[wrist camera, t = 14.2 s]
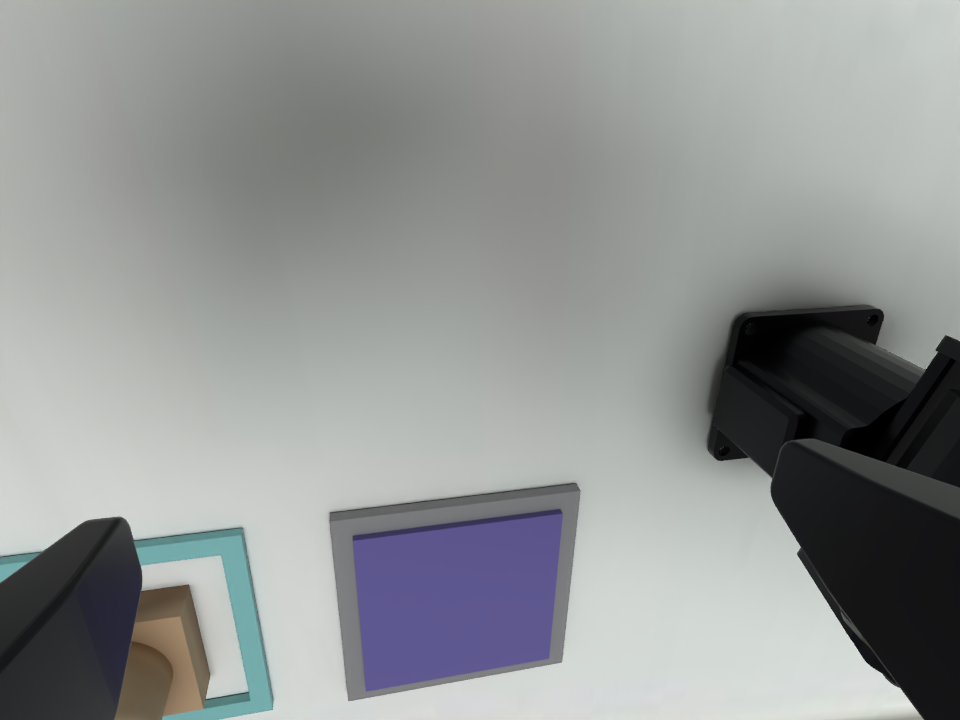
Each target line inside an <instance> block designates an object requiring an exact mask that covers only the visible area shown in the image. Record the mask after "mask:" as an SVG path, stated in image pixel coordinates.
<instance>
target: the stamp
mask: <svg viewBox="0 0 960 720" xmlns="http://www.w3.org/2000/svg"><path fill="white" fill-rule="evenodd" d="M209 679H210V672H209V667H208V663H207V659H206V655H205V650H204V646H203V642H202V638H201V633H200V629H199V625H198V621H197V616H196V612H195V608H194V604H193V600H192V595H191V591H190V587H189V585H183V586H176V587H169V588H161V589H154V590H147V591H141V594H140V599H139V604H138V610H137V615H136V620H135V625H134V630H133V635H132V640H131V645H130V650H129V655H128V660H127V665H126V670H125V676H124V681H123V686H122V691H121V695H120V700H119V704H118V709H117V713H116V717H115V720H162V717H163V716H168V715H173V714H179V713H185V712H190V711H196V710H202V709H204V704H205V699H206V694H207V689H208V684H209Z"/></svg>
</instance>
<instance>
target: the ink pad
mask: <svg viewBox="0 0 960 720" xmlns="http://www.w3.org/2000/svg"><path fill="white" fill-rule="evenodd" d="M579 500H580V489H579V488H578V486H577V484H569V485H561V486H553V487H544V488H536V489H528V490H519V491H511V492H503V493H494V494H486V495H478V496H469V497H461V498H453V499H444V500H436V501H428V502H419V503H411V504H403V505H394V506H386V507H378V508H369V509H361V510H353V511H344V512H336V513H330V530H331V539H332V549H333V559H334V568H335V578H336V588H337V597H338V607H339V616H340V626H341V636H342V645H343V655H344V665H345V674H346V684H347V693H348V701H353V700H358V699H364V698H369V697H375V696H380V695H386V694H391V693H397V692H402V691H408V690H413V689H419V688H424V687H430V686H435V685H441V684H446V683H452V682H457V681H463V680H468V679H474V678H479V677H485V676H490V675H496V674H501V673H507V672H512V671H518V670H523V669H529V668H534V667H540V666H545V665H551V664H556V663H562V658H563V648H564V639H565V630H566V620H567V611H568V602H569V593H570V583H571V574H572V565H573V556H574V546H575V537H576V528H577V519H578V509H579Z"/></svg>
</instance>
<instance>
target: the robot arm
mask: <svg viewBox="0 0 960 720" xmlns="http://www.w3.org/2000/svg"><path fill="white" fill-rule="evenodd" d="M869 317H870V318H869ZM883 318H884V314H883V311H881V310H880V309H878V308H876V307H873V306H869V305H867V306H851V307H836V308H820V309H804V310H789V311H773V312H757V313H746V314H743V315H741V316H740V317H738V319H737V320H736V321H735V323H734V326H733V330H732V335H731V340H730V345H729V350H728V354H727V359H726V364H725V369H724V372H723V376H722V381H721V386H720V391H719V395H718V400H717V405H716V410H715V415H714V420H713V427H712V432H711V437H710V441H709V446H708V451H709V453H710V454H711V455H712V456H713V457H714V458H715V459H717V460H719V461H724V460H733V459H741V458H751V459H752V460H753V461H754V462H755V463H756V464H757V465H758V466H759V467H760V468H762V469H763V470H764V471H765V472H766V473H767V474H768V475H769V476H770V477H771V478H773V479H772V482H771V497H772V499H773V502H774V504H775V506H776V507H777V509H778V511H779V512H780V514H781V515H782V517H783V519H784V520H785V522H786V524H787V525H788V527H789V528H790V530H791V532H792V533H793V535H794V537H795V538H796V540H797V542H798V543H799V545H800V546H801V548H800V550H799V551H798V553H797V555H798V557H799V558H800V560H801V561H802V563H803V564H804V566H805V568H806V569H807V571H808V572H809V574H810V576H811V577H812V579H813V580H814V582H815V584H816V585H817V587H818V588H819V590H820V591H821V593H822V595H823V596H824V598H825V599H826V601H827V603H828V604H829V606H830V607H831V609H832V610H833V612H834V614H835V615H836V617H837V618H838V620H839V622H840V623H841V625H842V626H843V628H844V629H845V631H846V633H847V634H848V636H849V637H850V639H851V640H852V641H853V643H854V644H855V646H856V648H857V649H858V651H859V652H860V654H861V655H862V657H863V658H864V660H865V661H866V662H867V663H868V664H869V665H870V666H871V667H873V668H874V669H876V670H877V671H879V672H881V673H882V674H883V675H884V677H885V678H886V679H887V680H888V681H889V682H891V683H892V684H893V685H895V686H897V687H899V688H901V690H902V691H903V692H904V694H905V695H906V696H907V698H908V699H909V700H910V702H911V703H912V704H913V706H914V707H915V708H916V710H917V711H918V712H919V714H920V715H921V716H922V718H923V719H924V720H960V341H959V340H956V339H954V338H951V337H949V336H946V335H945V337H944V338H943V339H942V341H941V342H940V344H939V345H938V347H937V348H936V351H938V353H937V354H936V356H935V357H934V359H933V360H932V362H931V363H930V365H929V366H928V367H927V369H926V370H925V369H923V368H921V367H918V366H916V365H914V364H912V363H910V362H908V361H906V360H904V359H902V358H900V357H898V356H896V355H894V354H892V353H890V352H888V351H886V350H884V349H882V348H880V347H878V346H876V345H875V344H876V341H877V338H878V335H879V332H880V329H881V325H882V322H883ZM868 319H869V320H868ZM867 320H868V321H867ZM750 323H751V326H750V328H749V329H748V330H746V331H745V329H746V326H747V325H748V324H750ZM723 446H724V447H723ZM721 447H723V448H722V449H721V450H720V448H721ZM141 589H142V569H141V565H140V561H139V558H138V554H137V551H136V547H135V543H134V540H133V536H132V532H131V529H130V526H129V524H128V522H127V521H126V519H124V518H122V517H110V518H101V519H92V520H87V521H85V522H83V523H82V524H80V525H79V526H77V527H76V528H74V529H73V530H72V531H70V532H69V533H68V534H66V535H65V536H64V537H62V538H61V539H59V540H58V541H57V542H55V543H54V544H53V545H51V546H50V547H48V548H47V549H46V550H44V551H43V552H42V553H40V554H39V555H38V556H36V557H35V558H33V559H32V560H31V561H29V562H28V563H27V564H25V565H24V566H22V567H21V568H20V569H18V570H17V571H16V572H14V573H13V574H11V575H10V576H9V577H7V578H6V579H5V580H3V581H2V582H1V583H0V720H115V717H116V713H117V709H118V704H119V700H120V695H121V691H122V686H123V681H124V676H125V670H126V665H127V660H128V655H129V650H130V645H131V640H132V635H133V630H134V625H135V620H136V615H137V610H138V604H139V599H140V594H141Z"/></svg>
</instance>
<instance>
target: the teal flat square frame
mask: <svg viewBox="0 0 960 720" xmlns="http://www.w3.org/2000/svg"><path fill="white" fill-rule="evenodd" d="M134 543H135V547H136V551H137V554H138V558H139V561H140V565H148V564H156V563H163V562H171V561H179V560H187V559H194V558H202V557H210V556H218V555H221V557H222V561H223V566H224V571H225V576H226V581H227V586H228V591H229V596H230V601H231V606H232V611H233V616H234V621H235V626H236V631H237V636H238V640H239V645H240V650H241V655H242V660H243V665H244V670H245V675H246V680H247V685H248V690H249V693H245V694H240V695H234V696H228V697H222V698H217V699H211V700H205V704H204V709H202V710H196V711H190V712H185V713H179V714H173V715H168V716H163V717H162V720H219V719H225V718H230V717H236V716H241V715H247V714H252V713H258V712H263V711H269V710H273V696H272V691H271V685H270V679H269V674H268V668H267V663H266V657H265V652H264V646H263V641H262V635H261V629H260V624H259V618H258V613H257V607H256V602H255V596H254V590H253V585H252V579H251V574H250V568H249V563H248V557H247V552H246V546H245V540H244V535H243V529H242V528H239V529H231V530H222V531H214V532H206V533H198V534H189V535H181V536H173V537H165V538H156V539H148V540H140V541H134ZM41 553H42V552H41ZM39 554H40V553H33V554H25V555H16V556H8V557H0V583H1V582H2V581H3V580H5V579H6V578H7V577H9V576H10V575H11V574H13V573H14V572H16V571H17V570H18V569H20V568H21V567H22V566H24V565H25V564H27V563H28V562H29V561H31V560H32V559H33V558H35V557H36V556H38V555H39Z"/></svg>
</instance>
